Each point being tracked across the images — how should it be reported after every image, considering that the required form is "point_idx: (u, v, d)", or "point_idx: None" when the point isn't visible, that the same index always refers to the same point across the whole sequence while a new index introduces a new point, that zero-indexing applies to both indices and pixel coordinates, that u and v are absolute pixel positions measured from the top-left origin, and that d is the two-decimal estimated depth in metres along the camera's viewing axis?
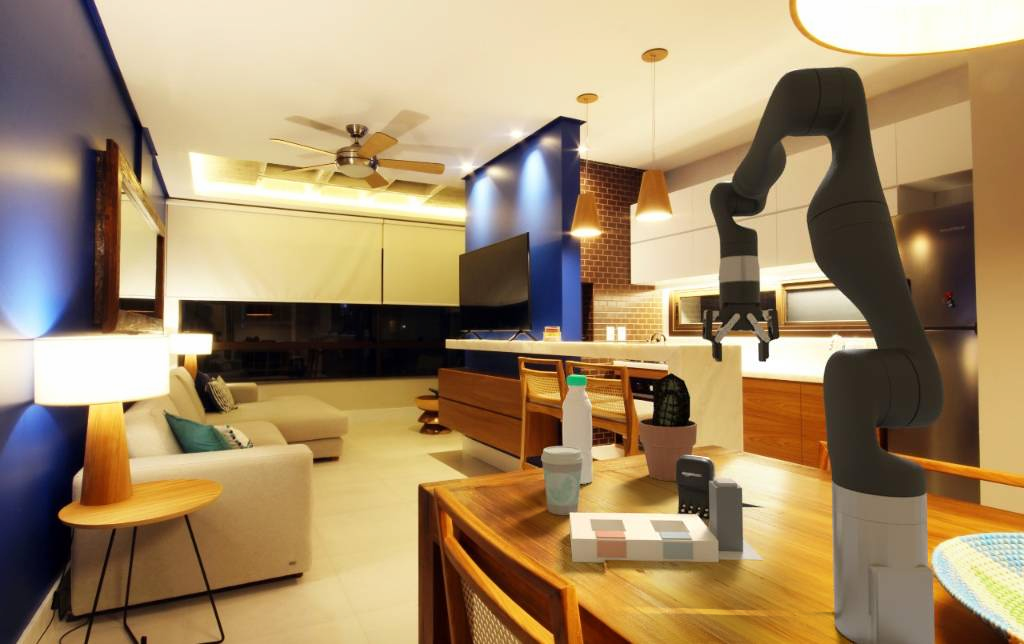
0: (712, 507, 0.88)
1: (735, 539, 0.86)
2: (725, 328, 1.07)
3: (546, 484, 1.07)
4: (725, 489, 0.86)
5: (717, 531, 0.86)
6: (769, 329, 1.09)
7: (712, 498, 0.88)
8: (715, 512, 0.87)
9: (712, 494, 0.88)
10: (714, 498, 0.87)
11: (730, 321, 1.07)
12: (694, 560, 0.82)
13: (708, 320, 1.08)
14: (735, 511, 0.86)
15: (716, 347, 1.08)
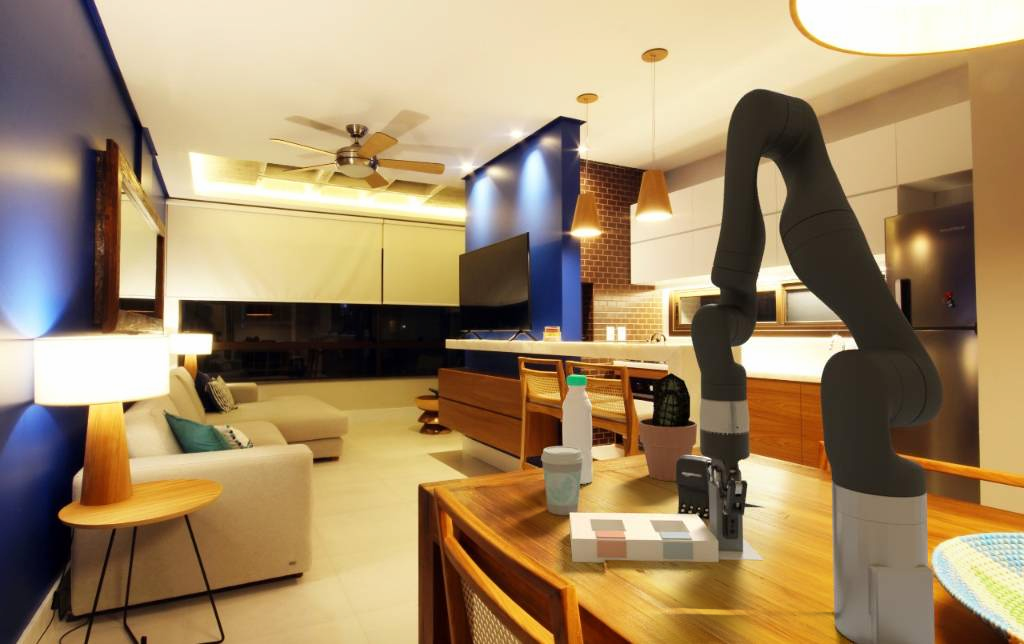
0: (712, 507, 0.88)
1: (735, 539, 0.86)
2: None
3: (546, 484, 1.07)
4: None
5: (717, 531, 0.86)
6: None
7: (712, 498, 0.88)
8: (715, 512, 0.87)
9: (712, 494, 0.88)
10: (714, 498, 0.87)
11: None
12: (694, 560, 0.82)
13: None
14: None
15: None
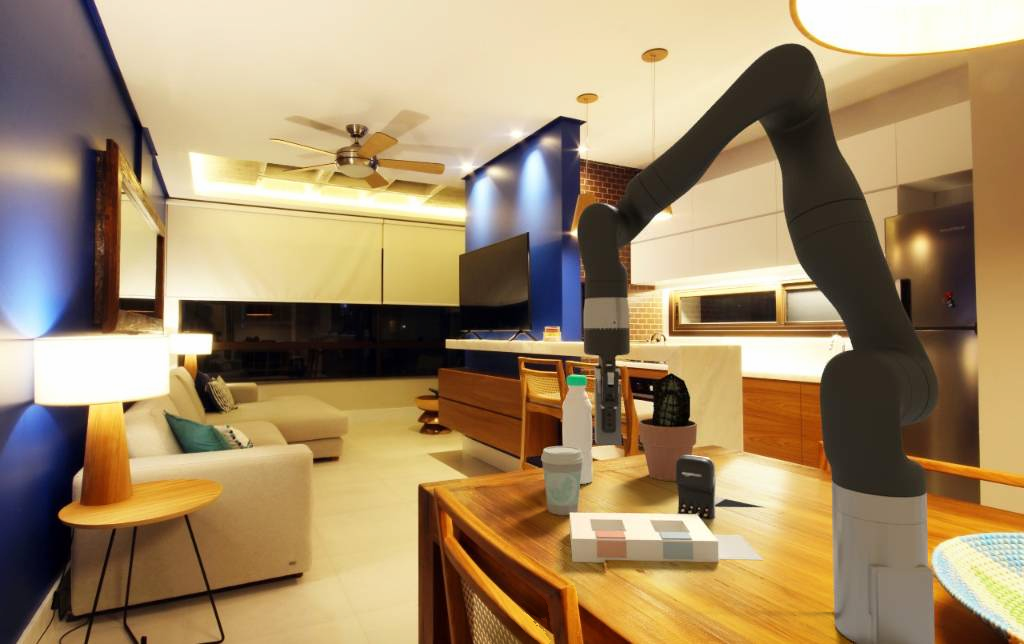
0: (595, 405, 0.90)
1: (614, 433, 0.88)
2: None
3: (546, 484, 1.07)
4: None
5: (597, 426, 0.88)
6: None
7: (595, 396, 0.90)
8: (595, 408, 0.89)
9: (595, 392, 0.90)
10: (595, 395, 0.89)
11: None
12: (694, 560, 0.82)
13: None
14: None
15: None
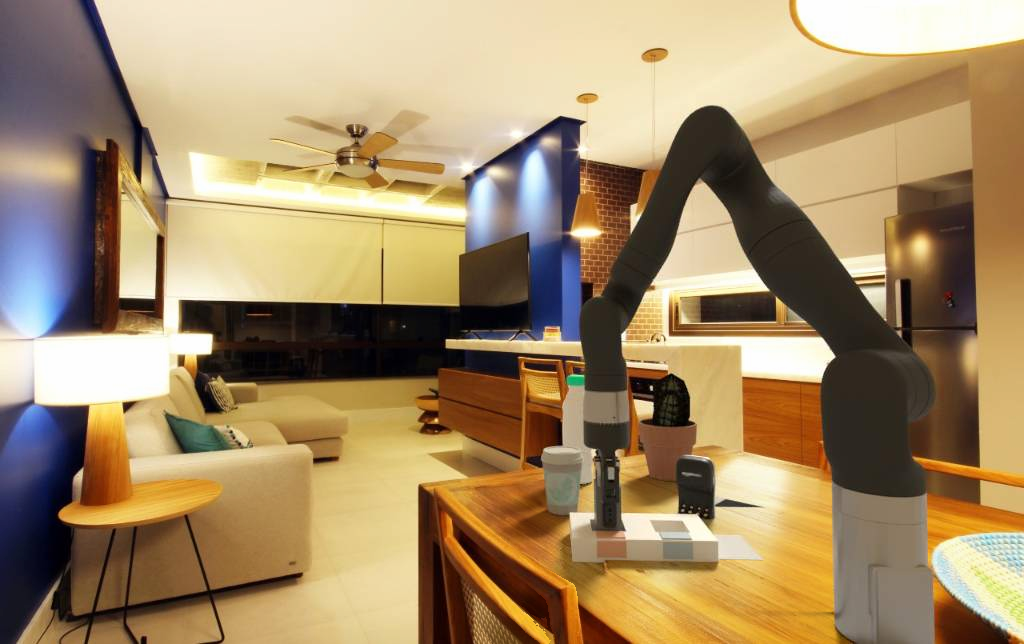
0: None
1: None
2: None
3: (546, 484, 1.07)
4: None
5: (597, 529, 0.87)
6: None
7: None
8: (595, 510, 0.88)
9: None
10: (595, 496, 0.88)
11: None
12: (694, 560, 0.82)
13: (618, 480, 0.83)
14: None
15: None
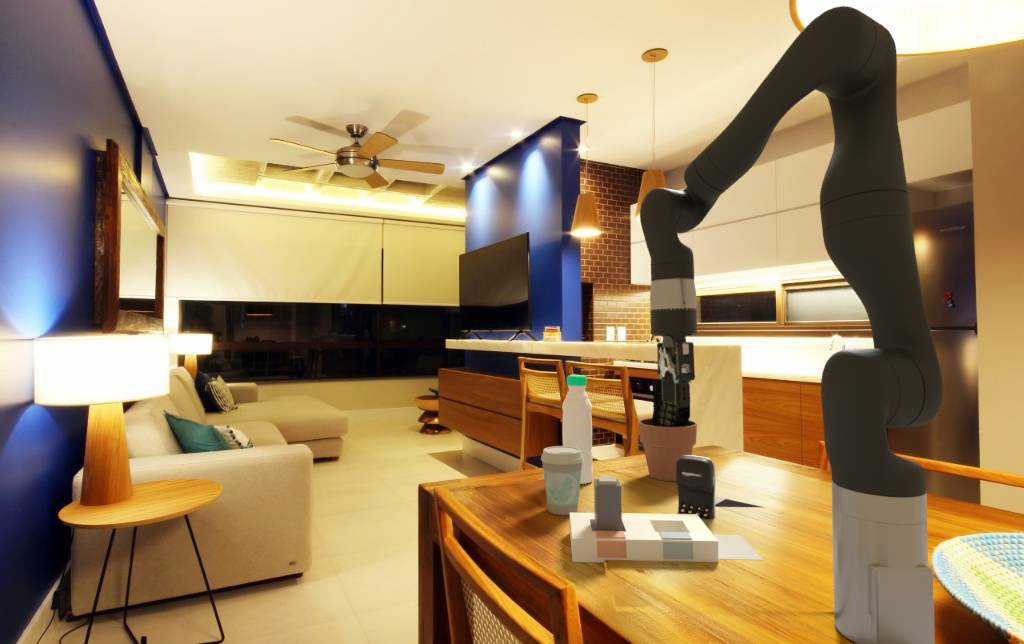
0: (595, 505, 0.90)
1: None
2: None
3: (546, 484, 1.07)
4: (605, 487, 0.87)
5: (597, 528, 0.88)
6: None
7: (595, 496, 0.90)
8: (596, 510, 0.88)
9: (595, 492, 0.90)
10: (595, 496, 0.89)
11: None
12: (694, 560, 0.82)
13: None
14: (614, 508, 0.87)
15: (687, 389, 0.86)
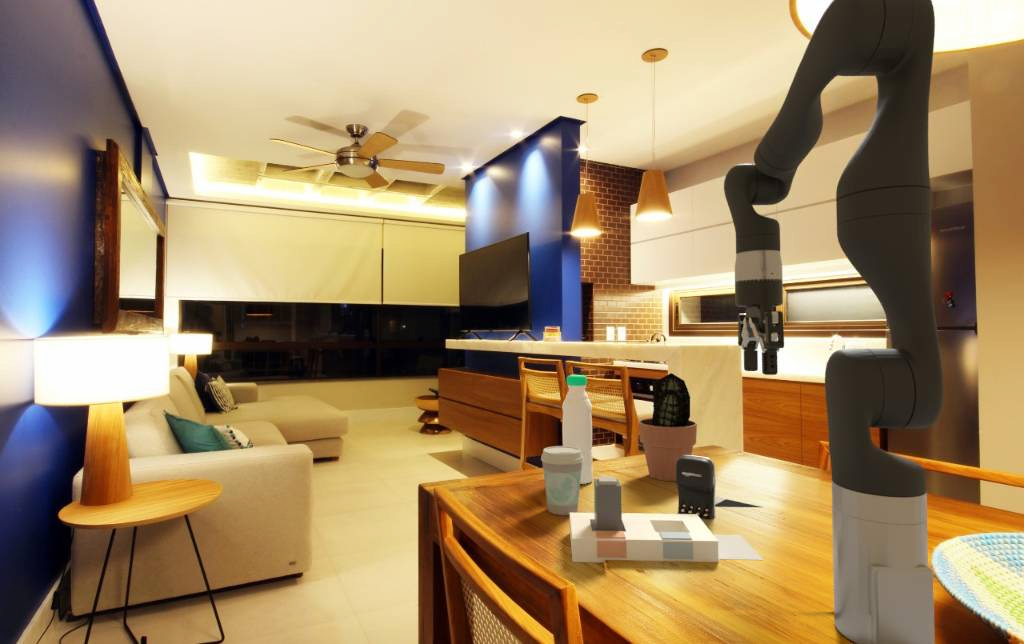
0: (595, 505, 0.90)
1: None
2: None
3: (546, 484, 1.07)
4: (605, 487, 0.87)
5: (597, 528, 0.88)
6: None
7: (595, 496, 0.90)
8: (596, 510, 0.88)
9: (595, 492, 0.90)
10: (595, 496, 0.89)
11: None
12: (694, 560, 0.82)
13: None
14: (614, 508, 0.87)
15: None
